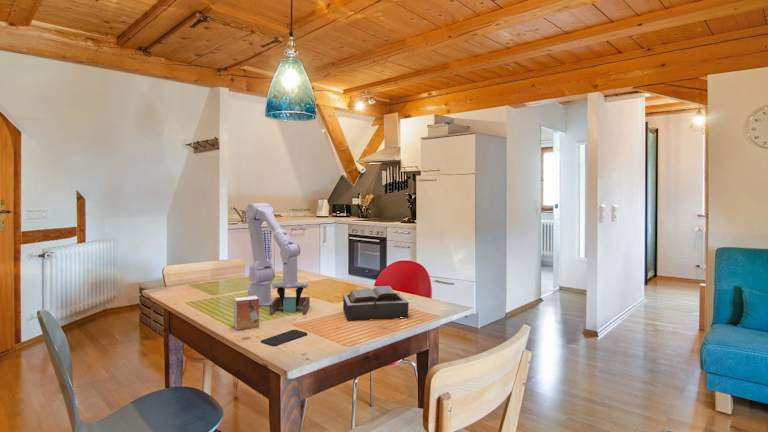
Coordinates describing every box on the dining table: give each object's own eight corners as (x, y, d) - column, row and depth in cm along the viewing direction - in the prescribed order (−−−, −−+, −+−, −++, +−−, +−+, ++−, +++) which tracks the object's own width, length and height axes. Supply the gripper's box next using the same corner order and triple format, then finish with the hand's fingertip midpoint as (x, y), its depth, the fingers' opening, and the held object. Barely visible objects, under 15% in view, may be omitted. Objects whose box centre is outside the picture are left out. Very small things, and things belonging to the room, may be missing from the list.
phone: (258, 340, 141) (294, 329, 153) (259, 343, 141) (294, 331, 153) (273, 345, 137) (309, 333, 148) (273, 348, 137) (309, 335, 149)
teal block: (283, 311, 177) (283, 299, 177) (285, 308, 182) (285, 296, 182) (295, 311, 177) (295, 299, 177) (297, 308, 182) (297, 296, 182)
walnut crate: (269, 315, 172) (269, 305, 172) (276, 306, 186) (276, 297, 185) (305, 314, 173) (305, 304, 173) (309, 306, 186) (309, 296, 186)
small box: (236, 330, 153) (235, 300, 152) (233, 326, 158) (233, 297, 157) (259, 327, 156) (259, 298, 156) (256, 323, 161) (256, 295, 161)
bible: (409, 322, 164) (409, 296, 164) (337, 322, 165) (337, 296, 164) (406, 306, 188) (406, 284, 187) (344, 306, 188) (344, 283, 187)
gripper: (270, 274, 174) (270, 308, 175) (306, 274, 175) (306, 308, 176) (274, 271, 181) (274, 303, 182) (309, 271, 182) (309, 303, 183)
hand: (290, 305), depth 179 cm, fingers closed on teal block, 5 cm apart
